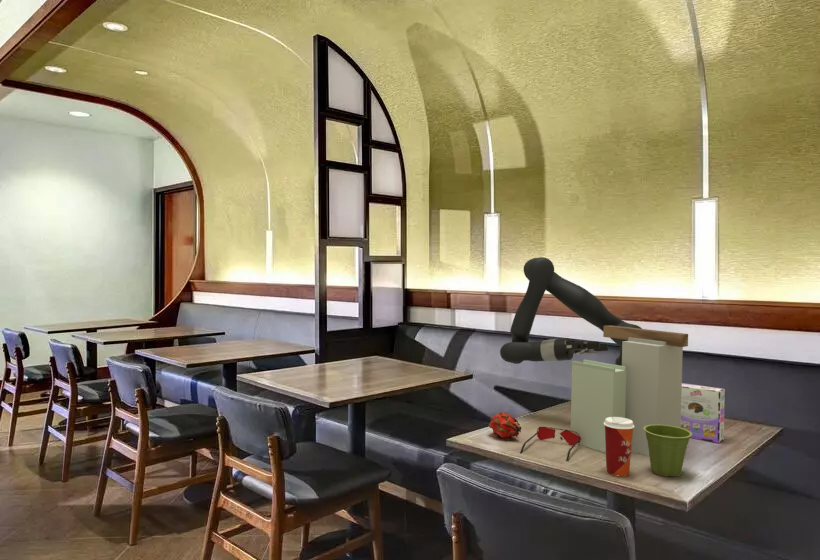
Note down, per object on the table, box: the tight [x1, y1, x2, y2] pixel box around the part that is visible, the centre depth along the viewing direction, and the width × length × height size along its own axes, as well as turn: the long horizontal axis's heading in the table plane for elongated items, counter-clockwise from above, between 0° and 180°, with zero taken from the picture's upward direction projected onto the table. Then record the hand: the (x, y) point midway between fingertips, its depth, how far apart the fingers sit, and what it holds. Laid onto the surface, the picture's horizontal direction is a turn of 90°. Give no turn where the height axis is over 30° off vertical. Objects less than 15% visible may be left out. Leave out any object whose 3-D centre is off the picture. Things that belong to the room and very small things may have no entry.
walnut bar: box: [602, 325, 689, 348], centre depth 177 cm, size 4×26×4 cm, turn 35°
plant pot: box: [643, 424, 692, 477], centre depth 156 cm, size 12×12×11 cm
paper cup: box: [604, 417, 634, 477], centre depth 156 cm, size 8×8×14 cm
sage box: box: [570, 359, 626, 454], centre depth 178 cm, size 6×15×25 cm, turn 35°
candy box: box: [681, 382, 726, 444], centre depth 189 cm, size 14×6×16 cm, turn 47°
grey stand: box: [622, 337, 684, 458], centre depth 175 cm, size 12×12×33 cm
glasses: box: [519, 426, 581, 462], centre depth 175 cm, size 14×16×5 cm
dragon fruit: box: [488, 411, 522, 441], centre depth 186 cm, size 8×8×12 cm
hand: (603, 346), depth 194 cm, fingers open, 8 cm apart
